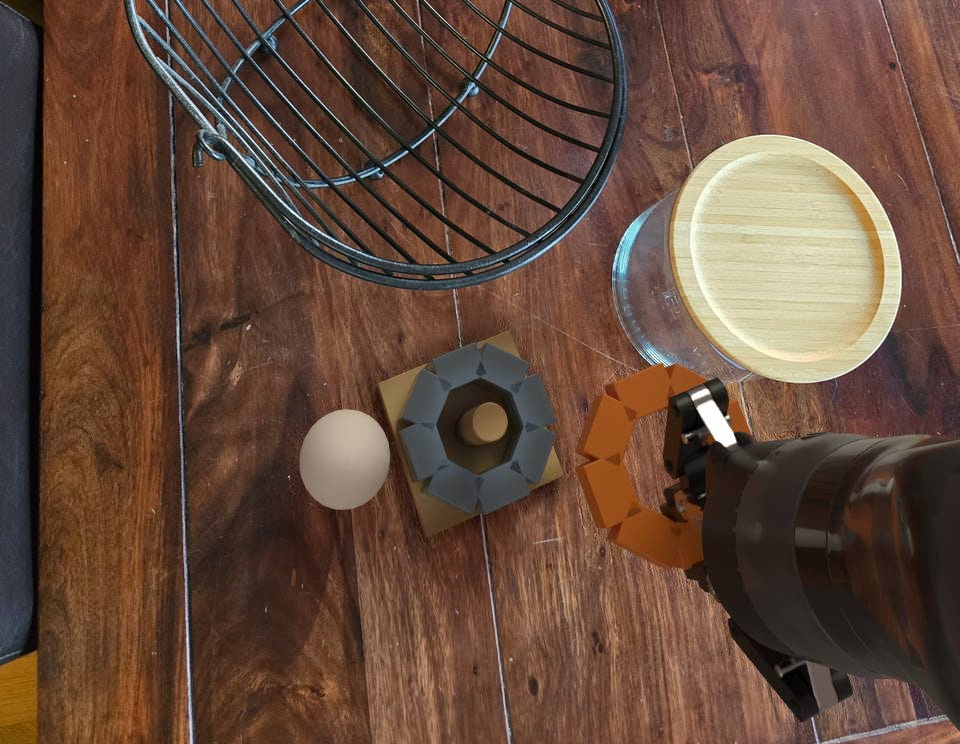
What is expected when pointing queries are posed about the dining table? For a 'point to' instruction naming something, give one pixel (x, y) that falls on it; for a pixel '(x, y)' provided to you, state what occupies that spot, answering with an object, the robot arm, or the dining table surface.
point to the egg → (344, 459)
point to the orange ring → (610, 478)
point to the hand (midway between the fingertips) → (690, 533)
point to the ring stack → (471, 431)
